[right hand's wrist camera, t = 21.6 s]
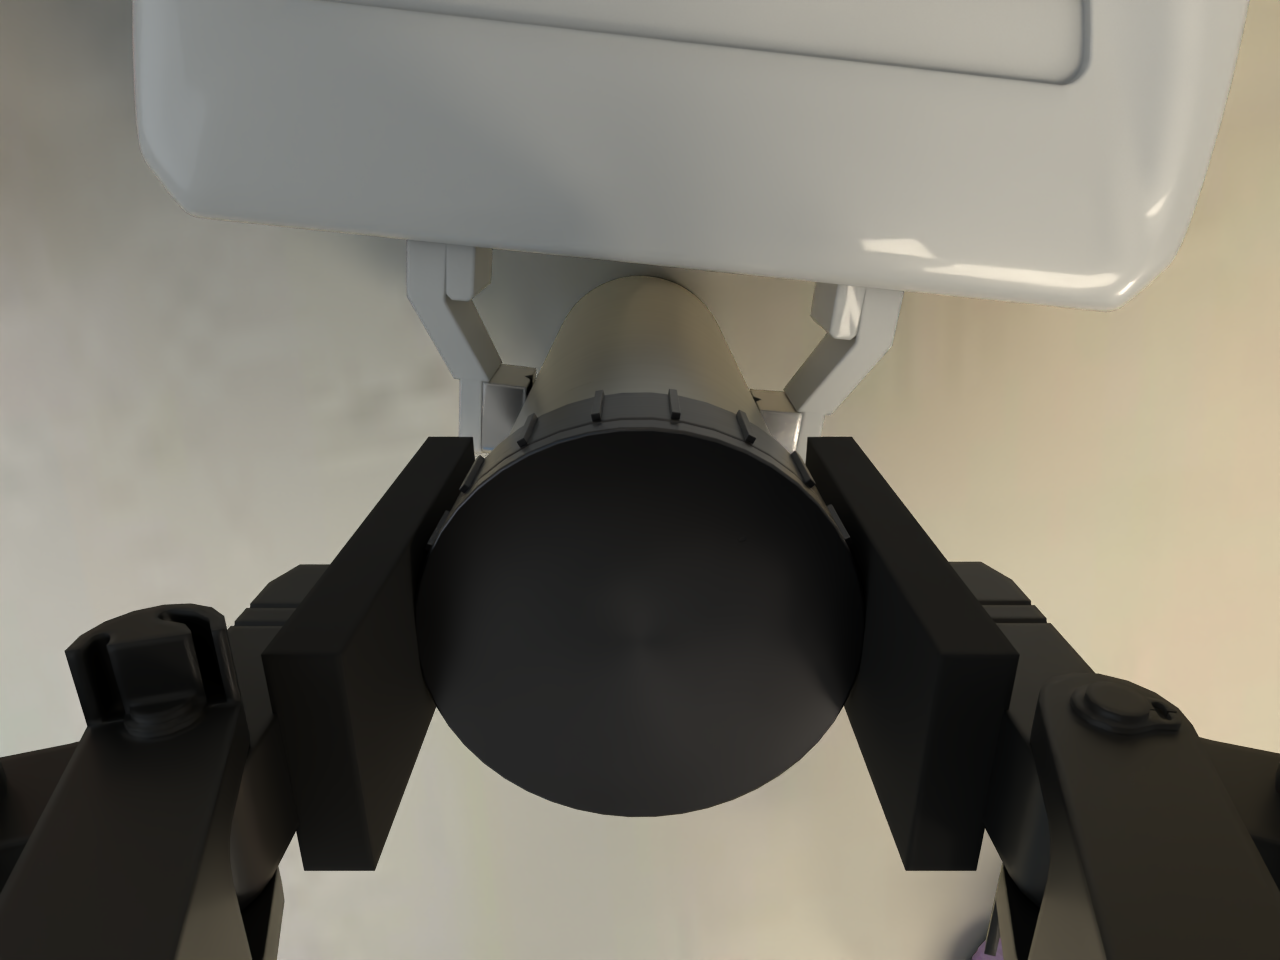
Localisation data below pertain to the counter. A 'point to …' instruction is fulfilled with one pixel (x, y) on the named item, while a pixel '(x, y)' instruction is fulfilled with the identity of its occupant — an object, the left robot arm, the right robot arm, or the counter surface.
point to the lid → (639, 607)
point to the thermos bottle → (640, 351)
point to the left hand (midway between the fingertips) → (637, 461)
